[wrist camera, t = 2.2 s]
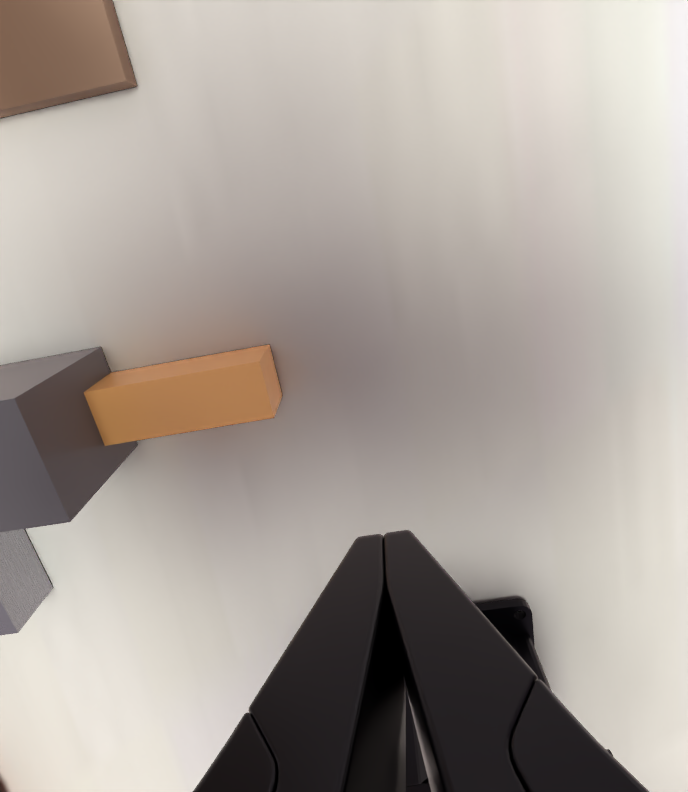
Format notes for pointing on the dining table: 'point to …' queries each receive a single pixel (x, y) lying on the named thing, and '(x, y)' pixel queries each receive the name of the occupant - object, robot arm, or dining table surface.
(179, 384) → the plug
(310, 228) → the dining table surface
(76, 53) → the walnut board
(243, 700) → the dining table surface
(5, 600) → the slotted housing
